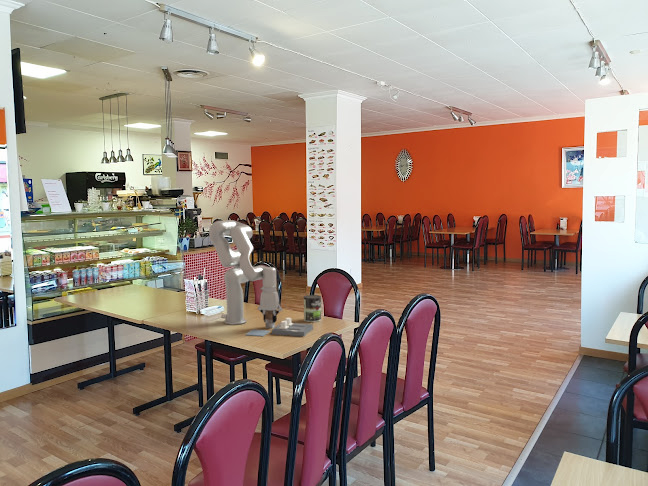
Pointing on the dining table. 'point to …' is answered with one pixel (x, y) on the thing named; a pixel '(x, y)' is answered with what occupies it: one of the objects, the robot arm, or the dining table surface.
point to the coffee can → (312, 308)
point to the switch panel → (293, 329)
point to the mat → (257, 332)
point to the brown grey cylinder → (269, 319)
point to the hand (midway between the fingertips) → (270, 321)
